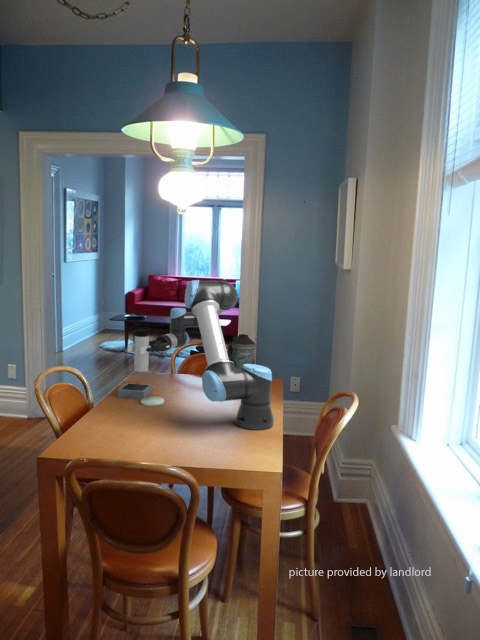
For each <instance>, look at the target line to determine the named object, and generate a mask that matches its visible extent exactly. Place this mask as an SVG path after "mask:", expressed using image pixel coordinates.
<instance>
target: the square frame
mask: <svg viewBox="0 0 480 640" xmlns="http://www.w3.org/2000/svg"><path fill="white" fill-rule="evenodd" d="M152 393H153V384H145V383H133V382H127V383H126V384H124V385H122V386H121V387H119V388H118V389H117V398H120V399H121V398H122V399H133V400H141V399H142V398H144V397H149V396H150V394H152Z"/></svg>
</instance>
